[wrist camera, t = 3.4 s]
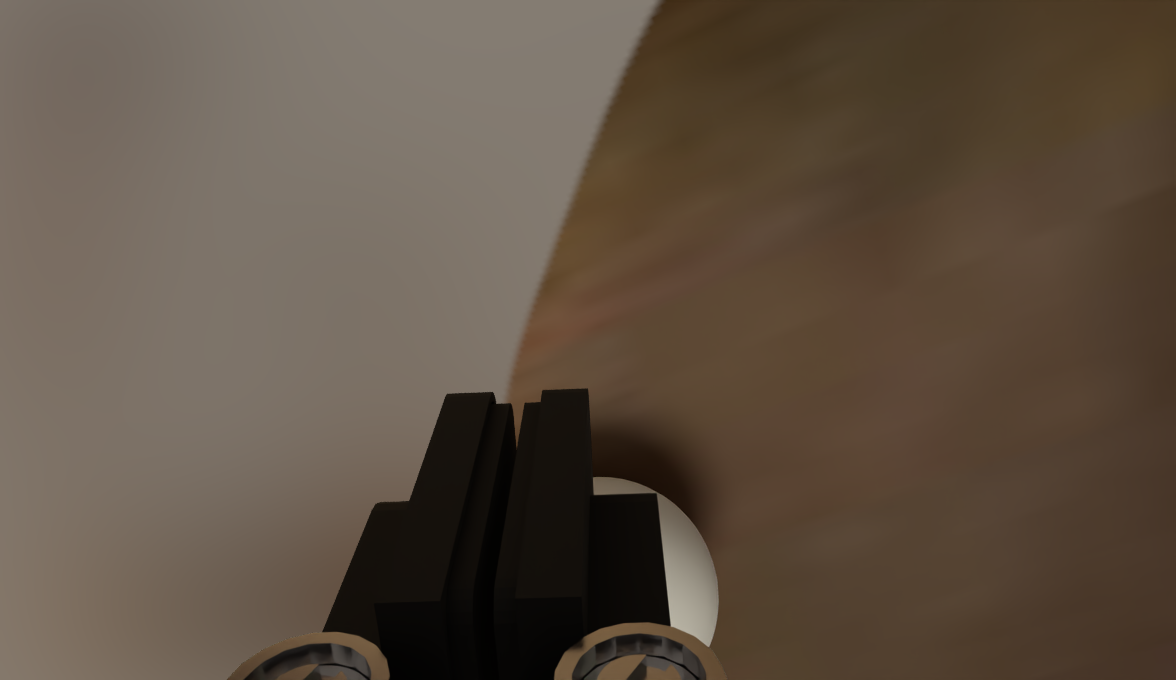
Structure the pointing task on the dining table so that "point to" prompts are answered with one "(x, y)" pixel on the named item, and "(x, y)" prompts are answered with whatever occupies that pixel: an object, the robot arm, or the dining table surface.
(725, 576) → the dining table surface
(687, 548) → the ball
